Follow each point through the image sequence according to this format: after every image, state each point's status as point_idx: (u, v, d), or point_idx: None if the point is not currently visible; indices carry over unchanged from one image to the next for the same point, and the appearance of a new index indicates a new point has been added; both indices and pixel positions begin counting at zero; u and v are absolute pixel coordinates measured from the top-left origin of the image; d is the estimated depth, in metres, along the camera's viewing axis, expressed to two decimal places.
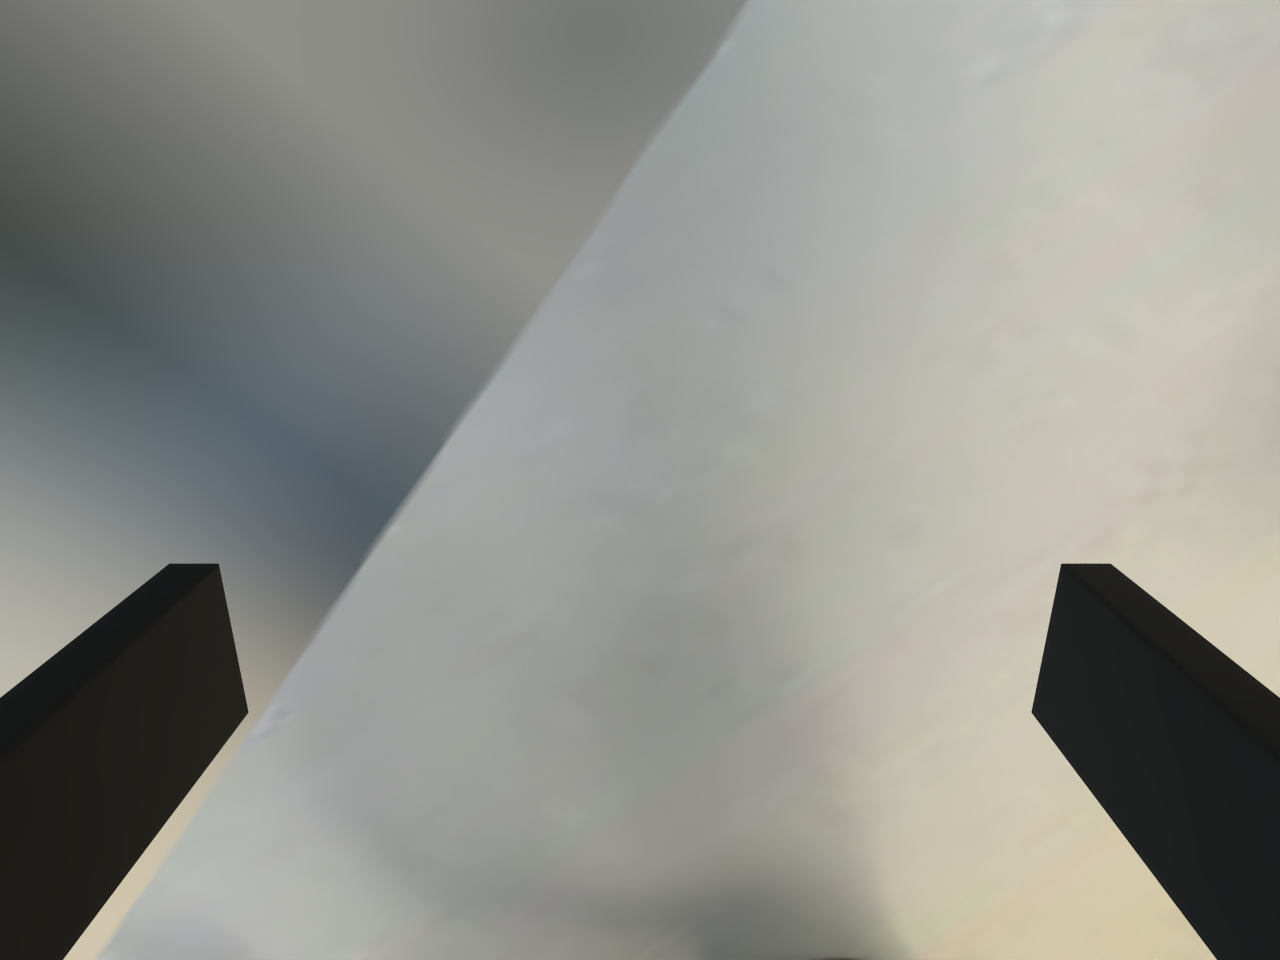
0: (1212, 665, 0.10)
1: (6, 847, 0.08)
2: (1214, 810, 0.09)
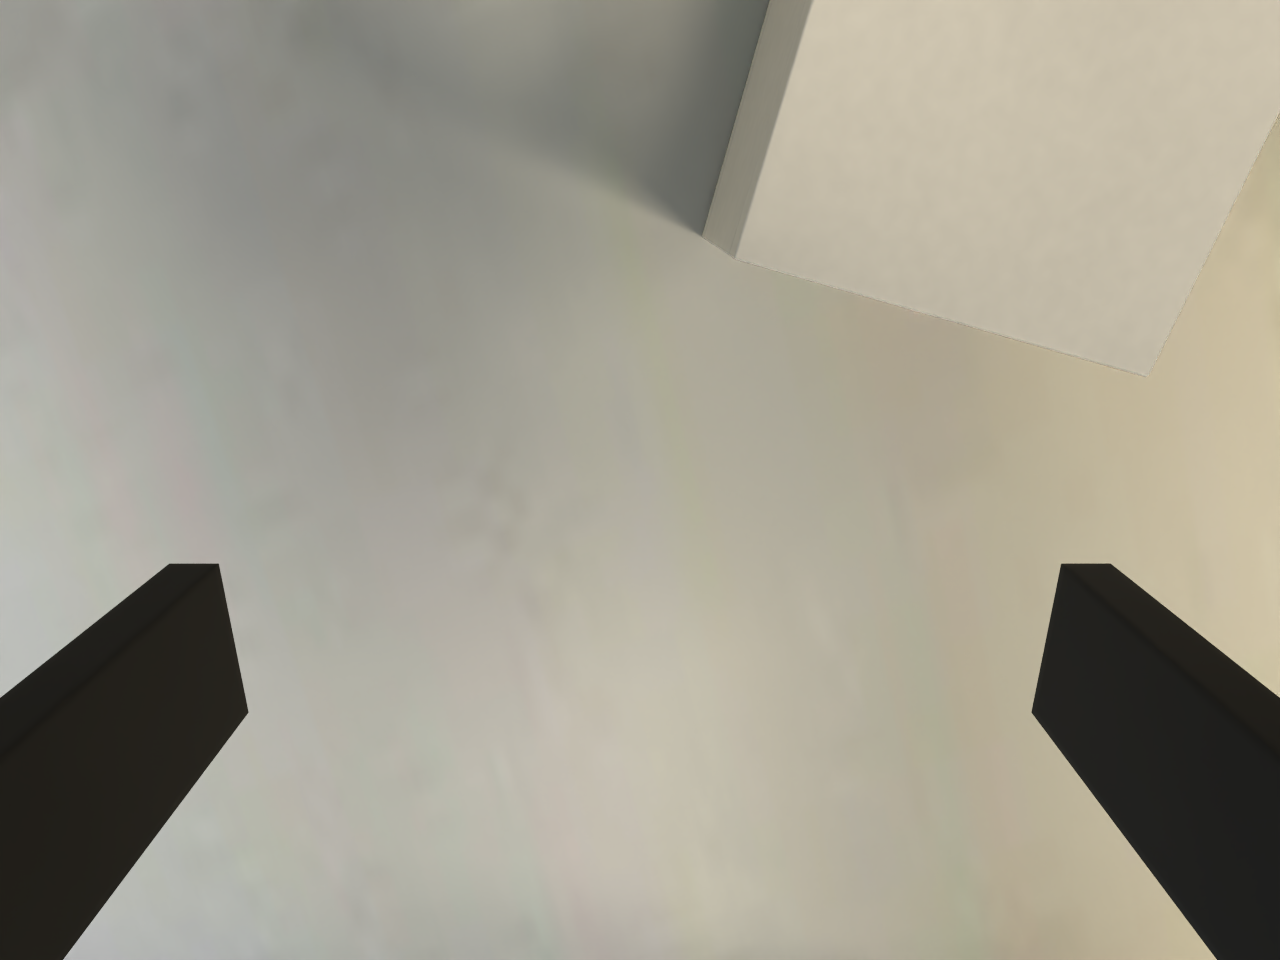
0: (1212, 665, 0.10)
1: (6, 847, 0.08)
2: (1214, 809, 0.09)
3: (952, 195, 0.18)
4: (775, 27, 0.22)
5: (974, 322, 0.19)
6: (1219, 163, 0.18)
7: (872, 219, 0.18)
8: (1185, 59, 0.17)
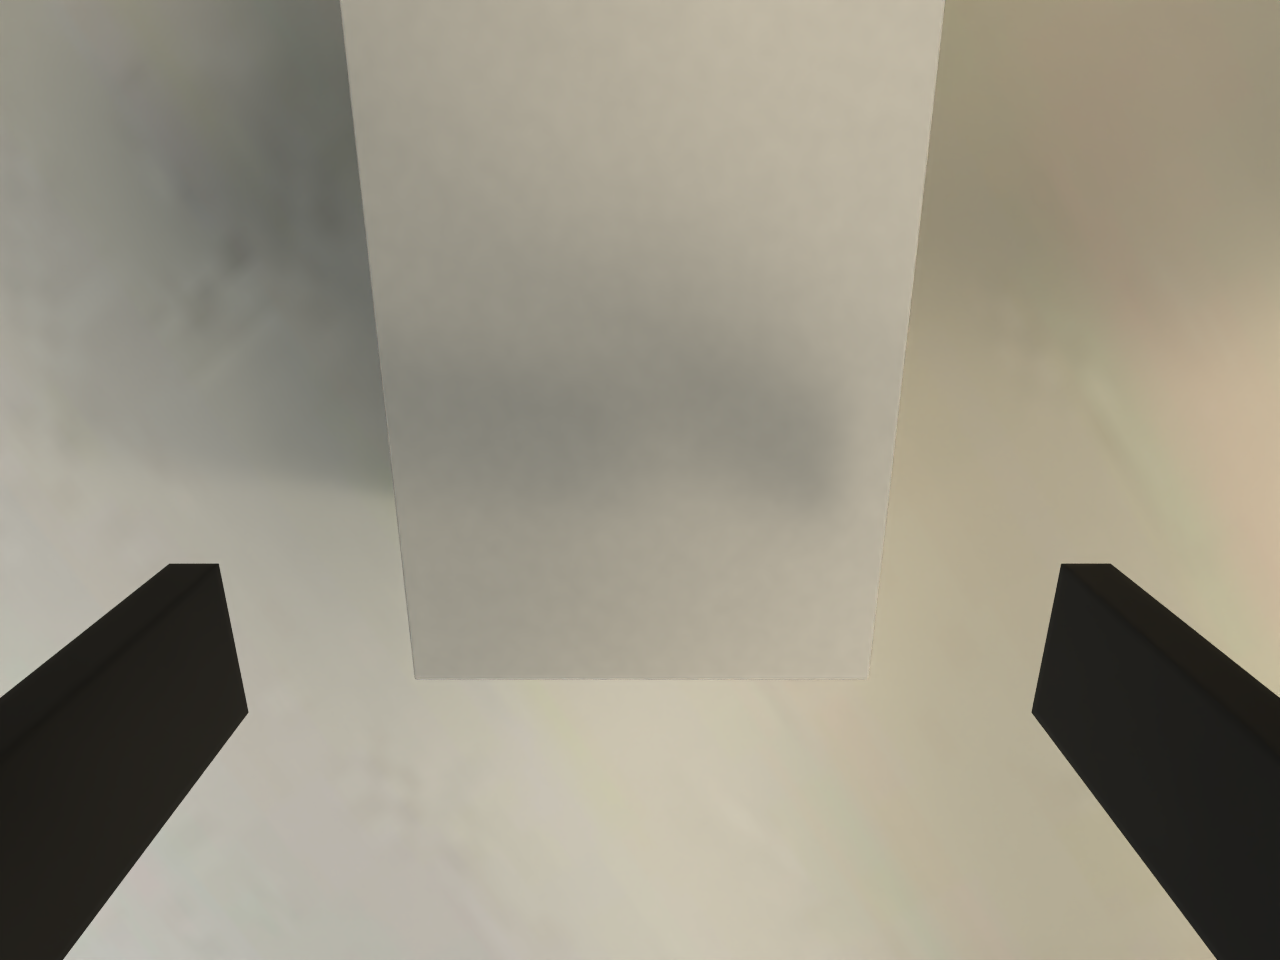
0: (1212, 665, 0.10)
1: (6, 847, 0.08)
2: (1214, 809, 0.09)
3: (599, 578, 0.18)
4: None
5: (669, 676, 0.19)
6: (854, 486, 0.17)
7: (530, 617, 0.18)
8: (777, 410, 0.17)
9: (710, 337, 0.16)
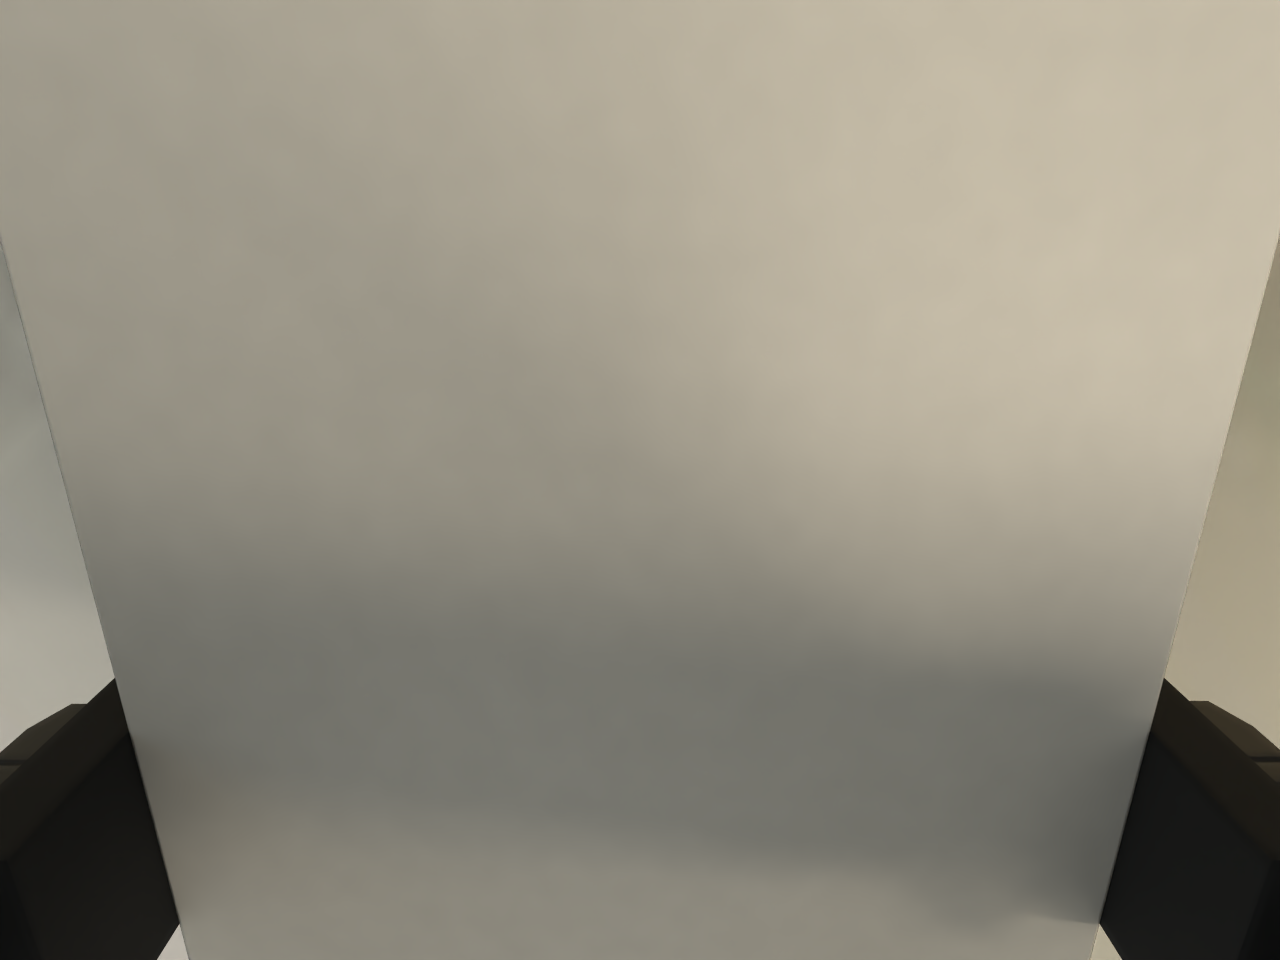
0: None
1: None
2: None
3: (557, 930, 0.09)
4: None
5: None
6: (1067, 777, 0.09)
7: None
8: (922, 639, 0.08)
9: (787, 498, 0.07)
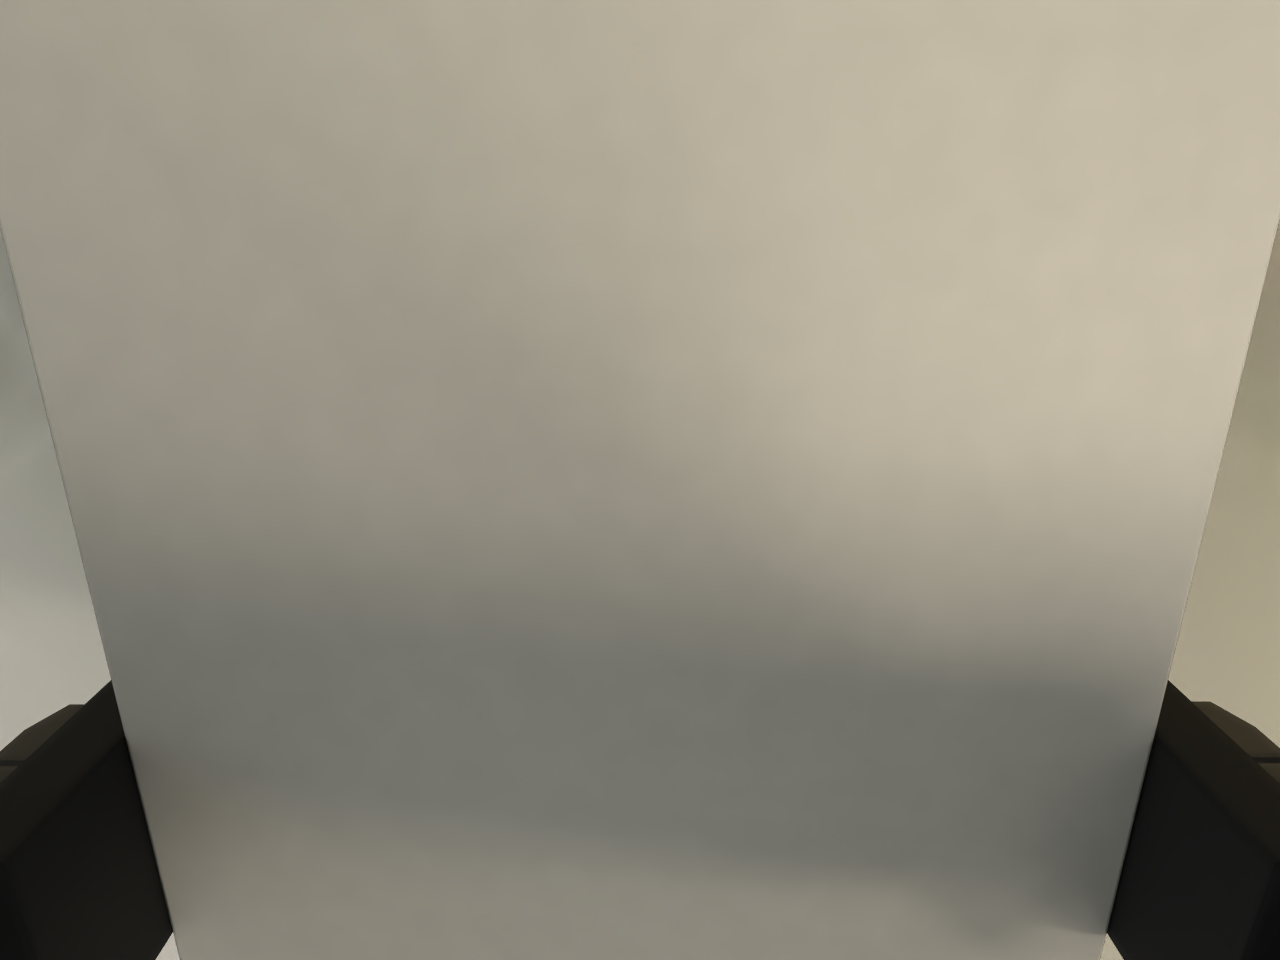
0: None
1: None
2: None
3: (556, 937, 0.09)
4: None
5: None
6: (1071, 780, 0.08)
7: None
8: (923, 637, 0.08)
9: (786, 494, 0.07)
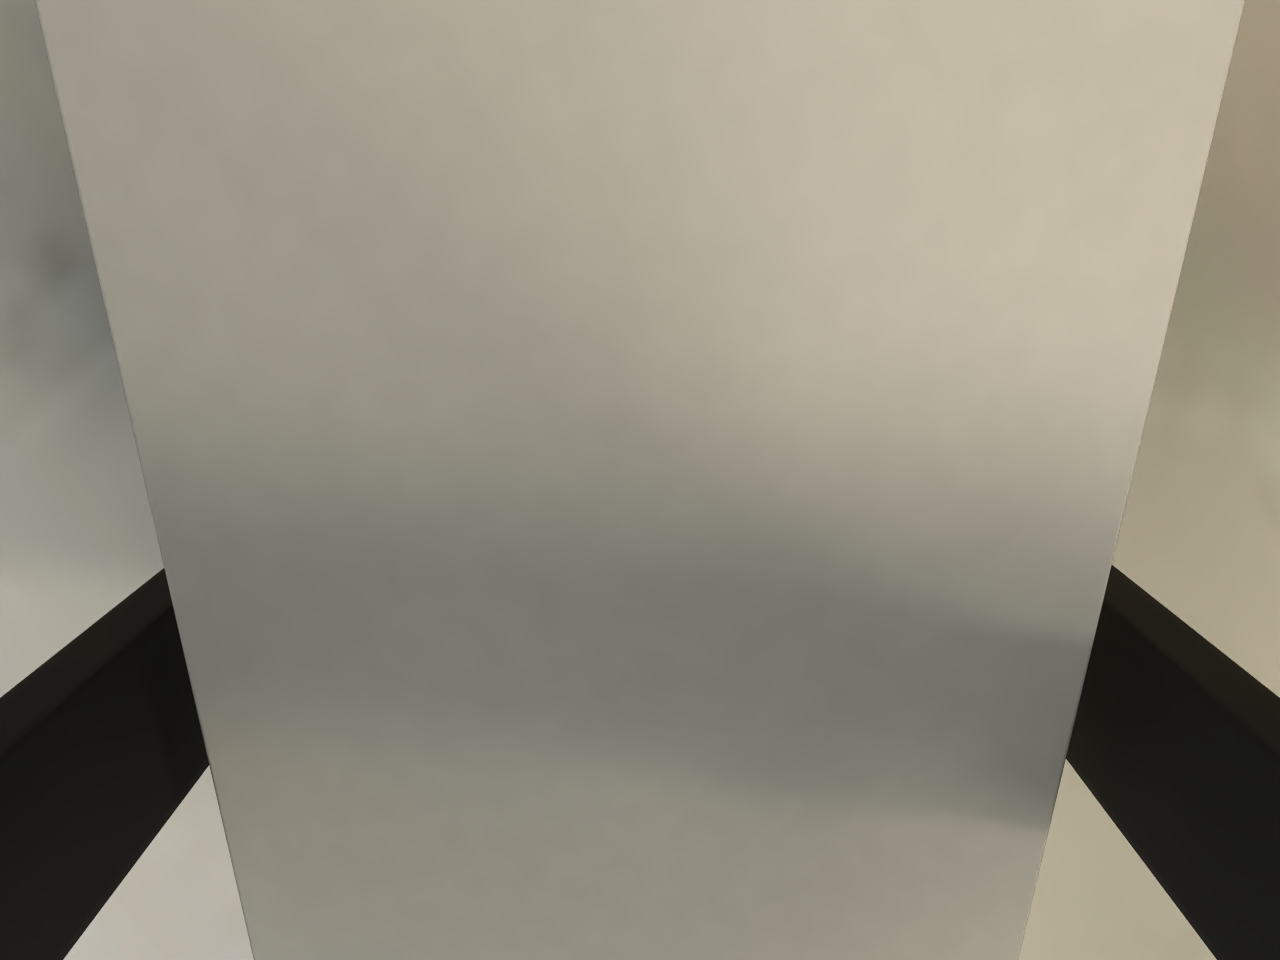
0: (1212, 665, 0.10)
1: (6, 847, 0.08)
2: (1214, 809, 0.09)
3: (564, 849, 0.10)
4: None
5: None
6: (1014, 711, 0.10)
7: (448, 907, 0.11)
8: (886, 585, 0.09)
9: (768, 460, 0.09)
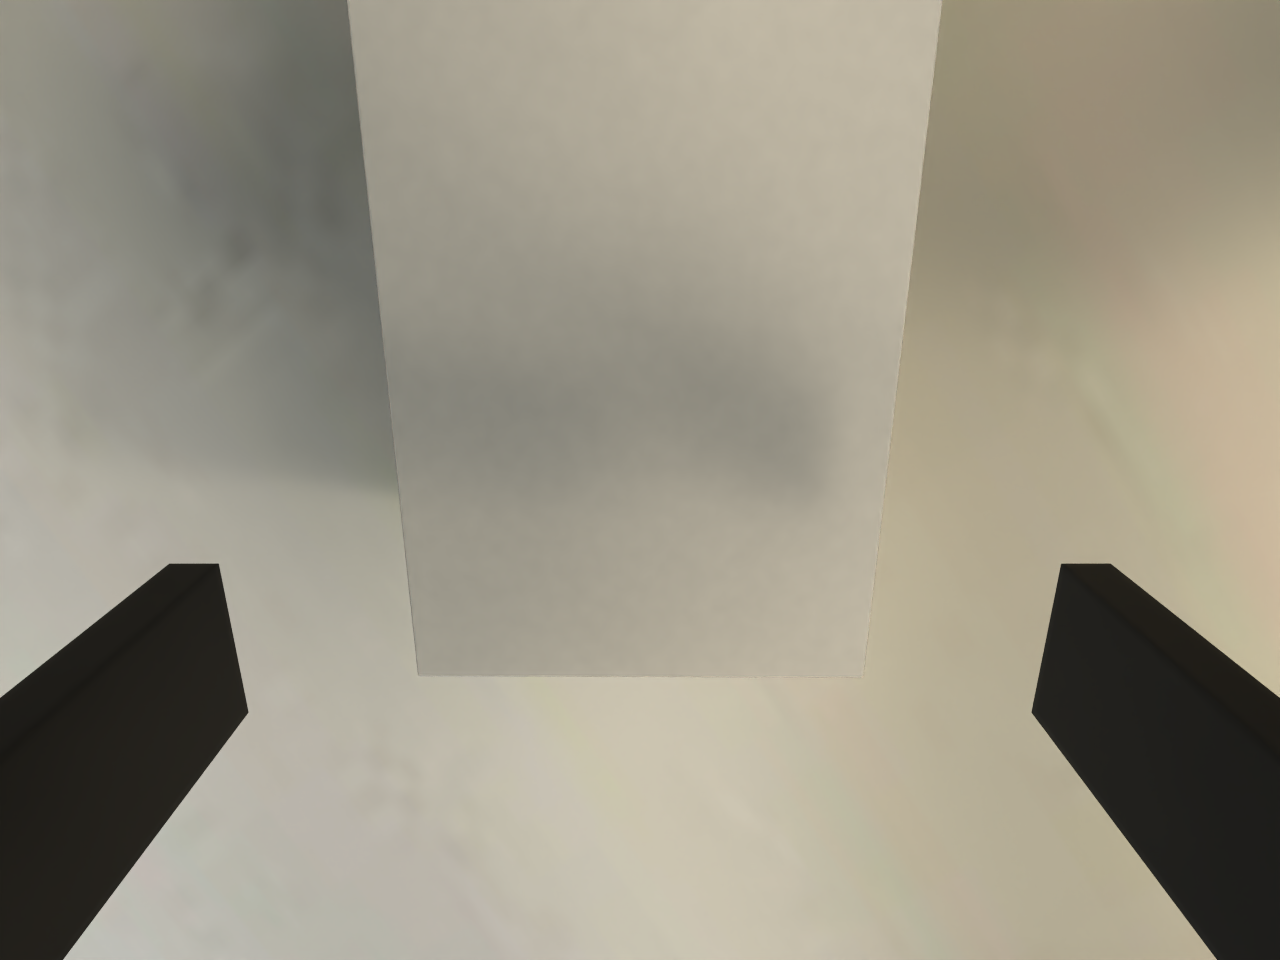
0: (1212, 665, 0.10)
1: (6, 847, 0.08)
2: (1214, 809, 0.09)
3: (599, 577, 0.18)
4: None
5: (668, 673, 0.19)
6: (850, 488, 0.18)
7: (532, 615, 0.19)
8: (775, 413, 0.17)
9: (709, 342, 0.16)
